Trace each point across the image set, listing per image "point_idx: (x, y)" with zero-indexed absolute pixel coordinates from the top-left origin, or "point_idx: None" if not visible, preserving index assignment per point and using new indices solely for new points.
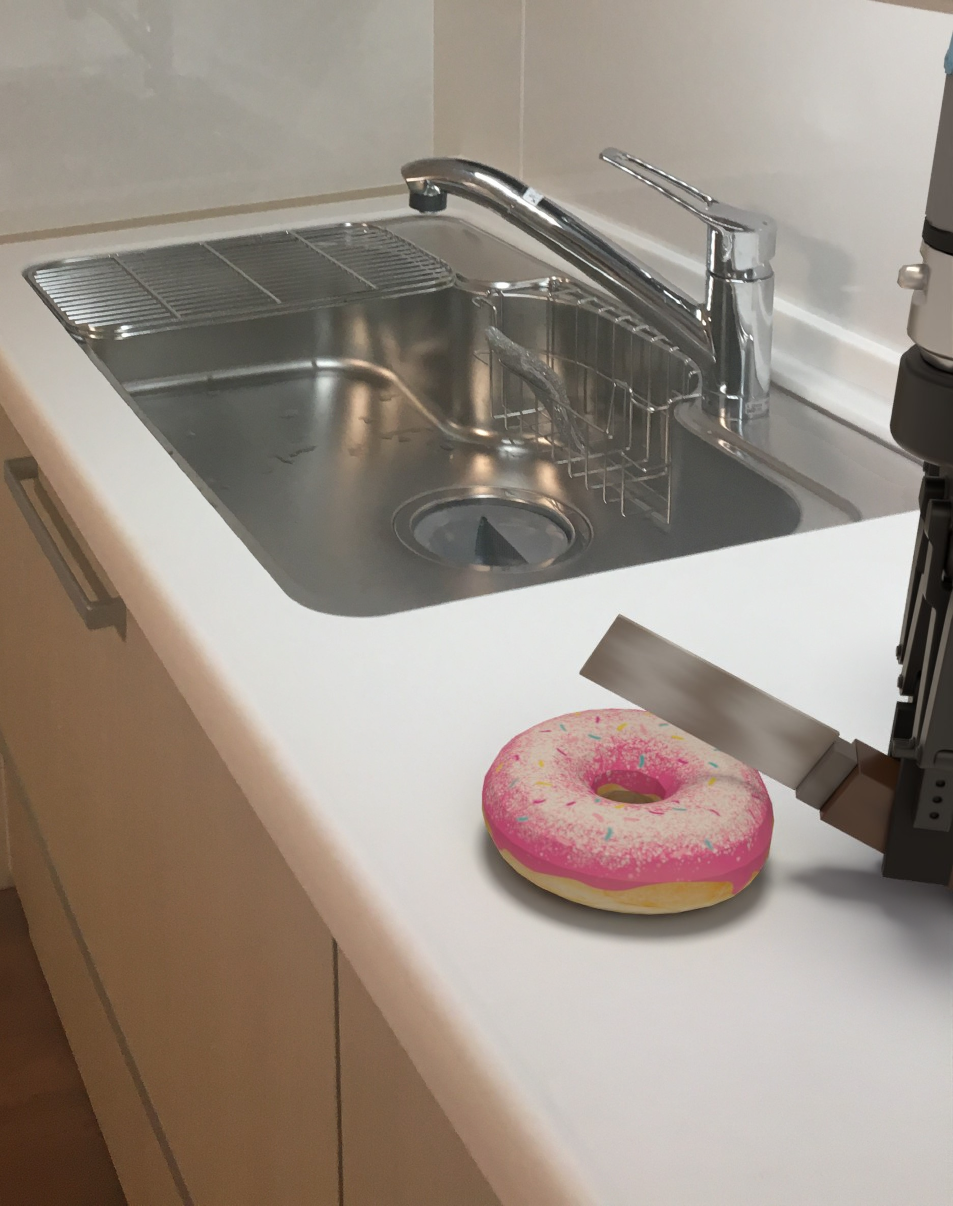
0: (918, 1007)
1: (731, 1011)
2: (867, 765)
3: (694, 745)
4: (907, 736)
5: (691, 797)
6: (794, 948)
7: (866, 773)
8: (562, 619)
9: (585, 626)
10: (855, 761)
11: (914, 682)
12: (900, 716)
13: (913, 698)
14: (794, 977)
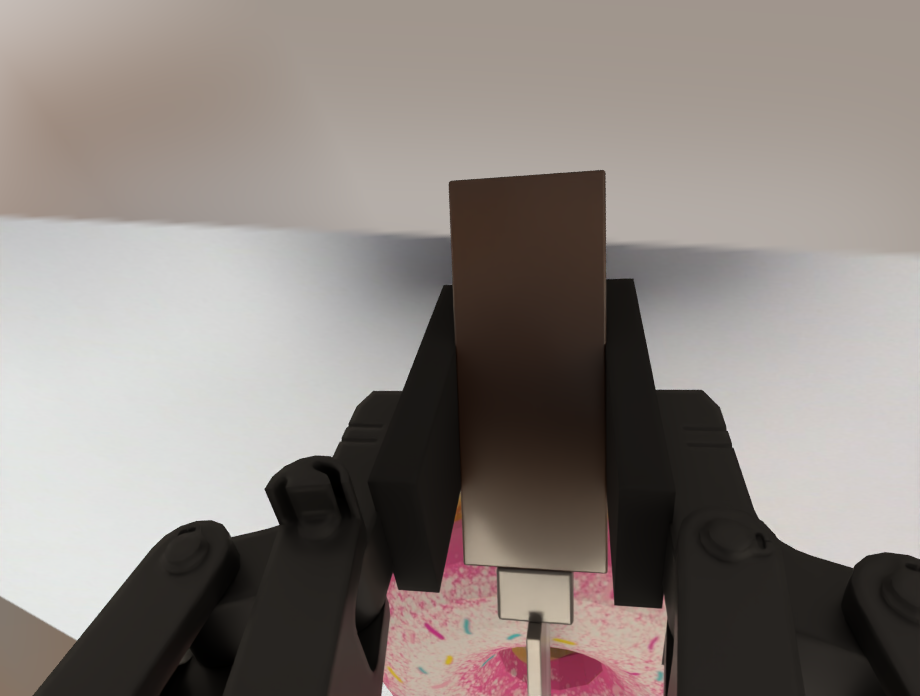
0: (877, 285)
1: (889, 493)
2: (559, 551)
3: (464, 648)
4: (448, 511)
5: (618, 661)
6: (731, 428)
7: (600, 559)
8: (87, 603)
9: (84, 587)
10: (568, 578)
11: (381, 630)
12: (441, 569)
13: (390, 579)
14: (804, 430)
